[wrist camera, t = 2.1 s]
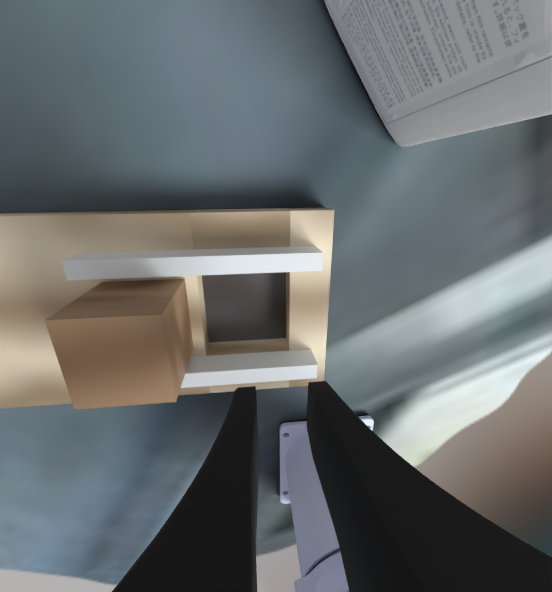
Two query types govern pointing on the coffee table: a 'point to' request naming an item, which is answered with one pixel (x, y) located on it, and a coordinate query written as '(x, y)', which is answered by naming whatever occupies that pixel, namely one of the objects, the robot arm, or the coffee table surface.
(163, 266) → the channel
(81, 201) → the coffee table surface
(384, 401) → the coffee table surface
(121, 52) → the coffee table surface
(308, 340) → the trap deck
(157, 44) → the coffee table surface
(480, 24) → the photo printer
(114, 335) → the walnut block
